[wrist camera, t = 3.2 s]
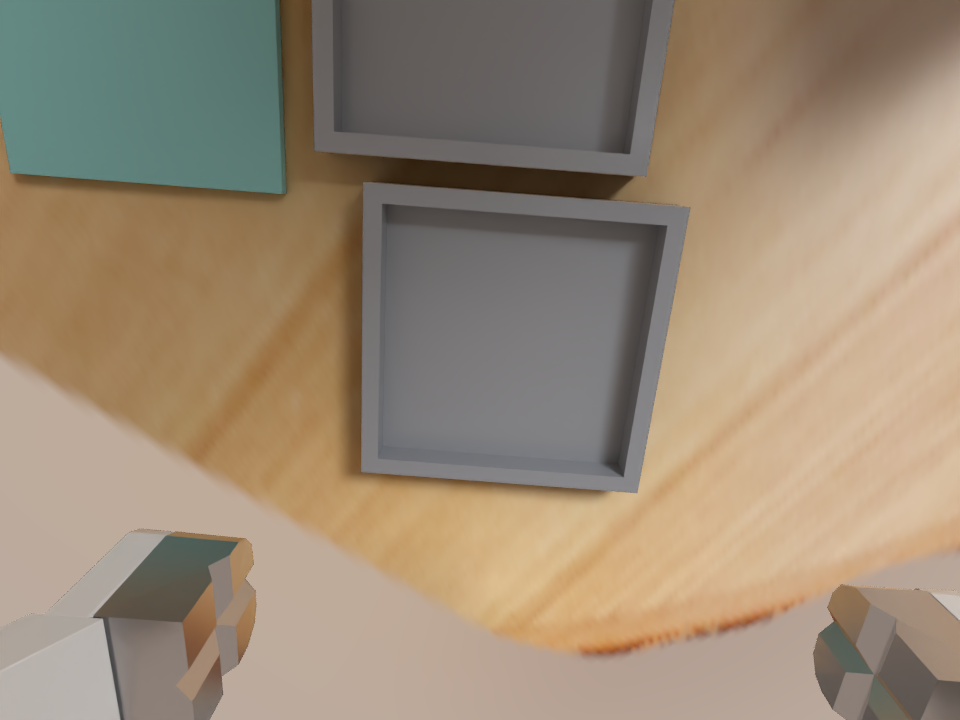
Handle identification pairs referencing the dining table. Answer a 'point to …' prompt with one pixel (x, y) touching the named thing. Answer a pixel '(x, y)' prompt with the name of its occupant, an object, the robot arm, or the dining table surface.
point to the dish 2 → (513, 333)
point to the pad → (145, 91)
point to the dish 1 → (491, 81)
